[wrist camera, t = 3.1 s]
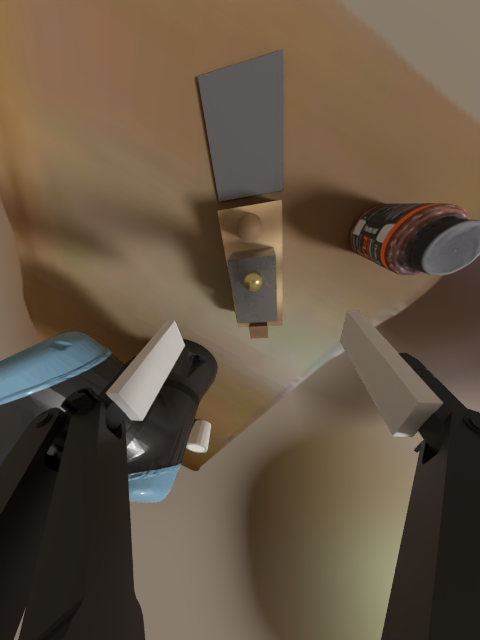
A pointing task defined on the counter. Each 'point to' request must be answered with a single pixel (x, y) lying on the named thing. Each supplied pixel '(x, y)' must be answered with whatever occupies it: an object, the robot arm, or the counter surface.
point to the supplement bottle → (417, 238)
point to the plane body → (255, 245)
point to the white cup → (199, 437)
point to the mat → (245, 126)
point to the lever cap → (254, 284)
